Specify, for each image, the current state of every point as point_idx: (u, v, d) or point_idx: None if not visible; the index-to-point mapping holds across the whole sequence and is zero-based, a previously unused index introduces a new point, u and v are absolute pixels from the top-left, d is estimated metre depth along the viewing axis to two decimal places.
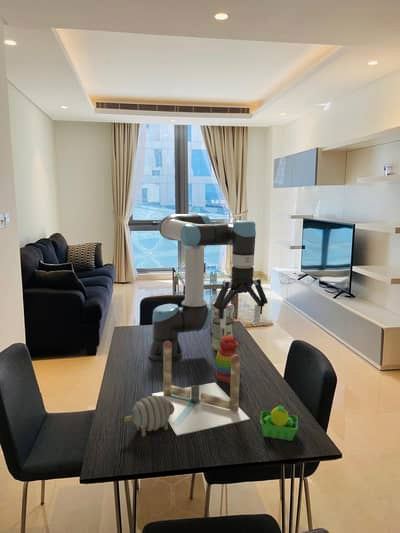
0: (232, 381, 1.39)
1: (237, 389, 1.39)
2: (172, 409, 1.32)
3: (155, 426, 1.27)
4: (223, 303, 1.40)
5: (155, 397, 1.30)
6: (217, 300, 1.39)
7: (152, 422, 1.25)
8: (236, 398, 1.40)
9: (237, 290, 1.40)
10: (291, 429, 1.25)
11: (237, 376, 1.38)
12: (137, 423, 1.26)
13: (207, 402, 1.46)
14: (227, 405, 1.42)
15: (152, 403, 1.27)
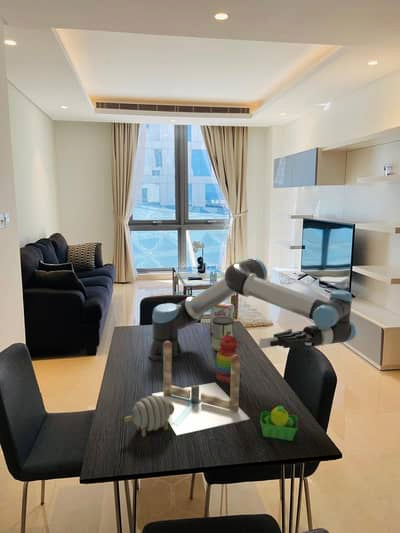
0: (232, 381, 1.39)
1: (237, 389, 1.39)
2: (172, 409, 1.32)
3: (155, 426, 1.27)
4: None
5: (155, 397, 1.30)
6: (291, 344, 1.41)
7: (152, 422, 1.25)
8: (236, 398, 1.40)
9: None
10: (291, 429, 1.25)
11: (237, 376, 1.38)
12: (137, 423, 1.26)
13: (207, 402, 1.46)
14: (227, 405, 1.42)
15: (152, 403, 1.28)
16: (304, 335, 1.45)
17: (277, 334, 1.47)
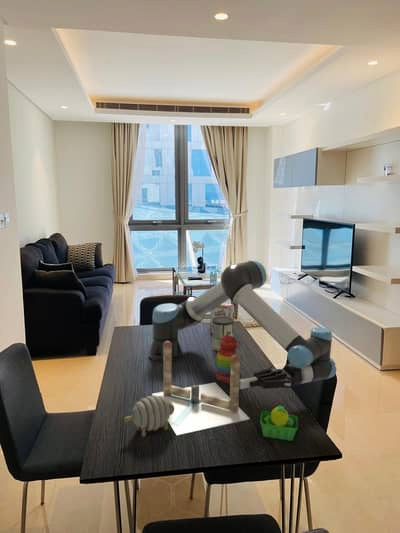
0: (232, 381, 1.39)
1: (237, 389, 1.39)
2: (172, 409, 1.32)
3: (155, 426, 1.27)
4: None
5: (155, 397, 1.30)
6: (270, 384, 1.40)
7: (152, 422, 1.25)
8: (236, 398, 1.40)
9: None
10: (291, 429, 1.25)
11: (237, 376, 1.38)
12: (137, 423, 1.26)
13: (207, 402, 1.46)
14: (226, 405, 1.42)
15: (152, 403, 1.27)
16: (284, 374, 1.45)
17: (257, 373, 1.46)
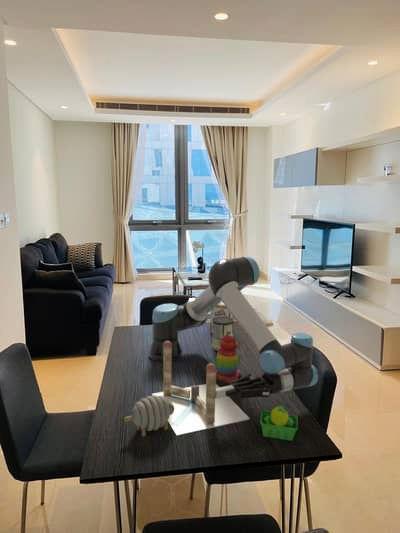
0: (206, 390, 1.32)
1: (209, 400, 1.32)
2: (172, 409, 1.32)
3: (155, 426, 1.27)
4: None
5: (155, 397, 1.30)
6: (247, 394, 1.34)
7: (152, 422, 1.25)
8: (208, 409, 1.32)
9: None
10: (291, 429, 1.25)
11: (209, 386, 1.31)
12: (137, 423, 1.26)
13: (198, 405, 1.43)
14: (205, 414, 1.36)
15: (152, 403, 1.28)
16: (262, 383, 1.38)
17: (234, 381, 1.40)
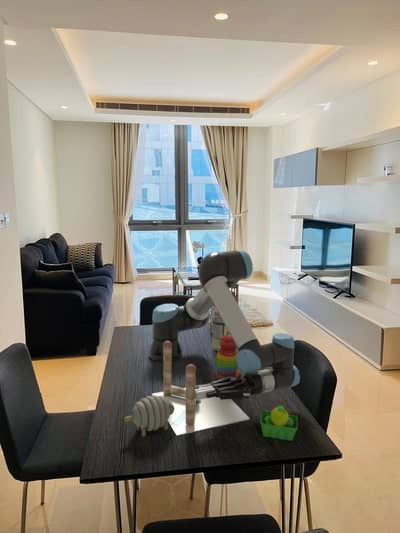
0: None
1: (187, 401, 1.31)
2: (172, 409, 1.32)
3: (155, 426, 1.27)
4: None
5: (155, 397, 1.30)
6: (228, 395, 1.33)
7: (152, 422, 1.25)
8: (186, 410, 1.32)
9: None
10: (291, 429, 1.25)
11: (187, 387, 1.30)
12: (137, 423, 1.26)
13: None
14: None
15: (152, 403, 1.27)
16: (243, 384, 1.37)
17: (215, 382, 1.39)
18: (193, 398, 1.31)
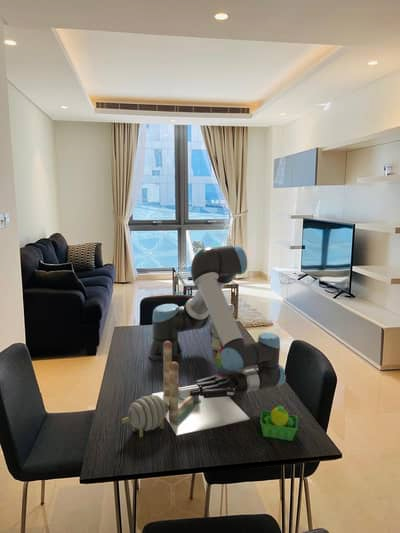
0: None
1: (169, 397, 1.33)
2: (167, 408, 1.33)
3: (153, 426, 1.27)
4: (206, 392, 1.35)
5: (151, 397, 1.30)
6: (211, 393, 1.33)
7: (150, 422, 1.25)
8: (169, 406, 1.34)
9: None
10: (291, 429, 1.25)
11: (169, 383, 1.32)
12: (135, 424, 1.26)
13: None
14: None
15: (149, 403, 1.28)
16: (227, 383, 1.38)
17: (199, 380, 1.40)
18: (175, 396, 1.32)
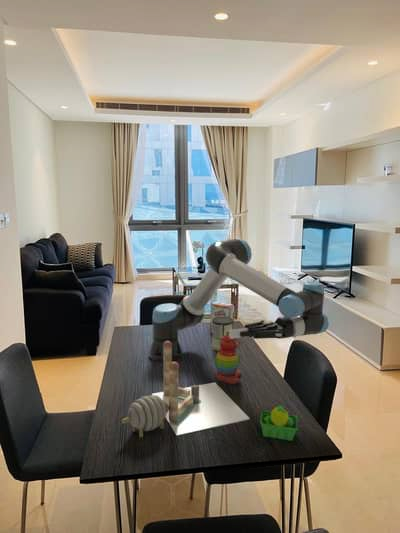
0: None
1: (169, 397, 1.33)
2: (167, 408, 1.33)
3: (153, 426, 1.27)
4: None
5: (151, 397, 1.30)
6: (261, 334, 1.40)
7: (150, 422, 1.25)
8: (169, 406, 1.34)
9: None
10: (291, 429, 1.25)
11: (169, 383, 1.32)
12: (135, 424, 1.26)
13: None
14: None
15: (149, 403, 1.28)
16: (275, 326, 1.44)
17: (248, 325, 1.45)
18: (174, 396, 1.32)
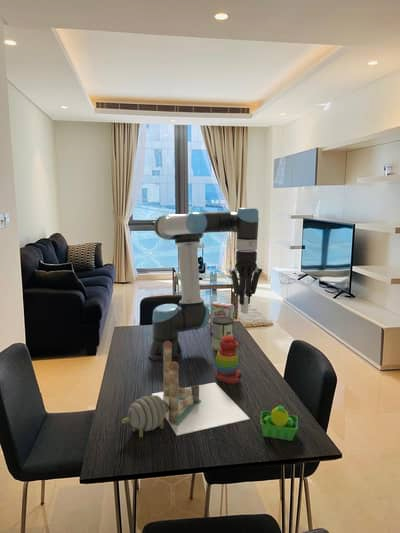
0: None
1: (169, 397, 1.33)
2: (167, 408, 1.33)
3: (153, 426, 1.27)
4: (241, 290, 1.52)
5: (151, 397, 1.30)
6: (235, 288, 1.51)
7: (150, 422, 1.25)
8: (169, 406, 1.34)
9: (244, 274, 1.50)
10: (291, 429, 1.25)
11: (169, 383, 1.32)
12: (135, 424, 1.26)
13: None
14: None
15: (149, 403, 1.27)
16: None
17: (250, 288, 1.55)
18: (174, 396, 1.32)
